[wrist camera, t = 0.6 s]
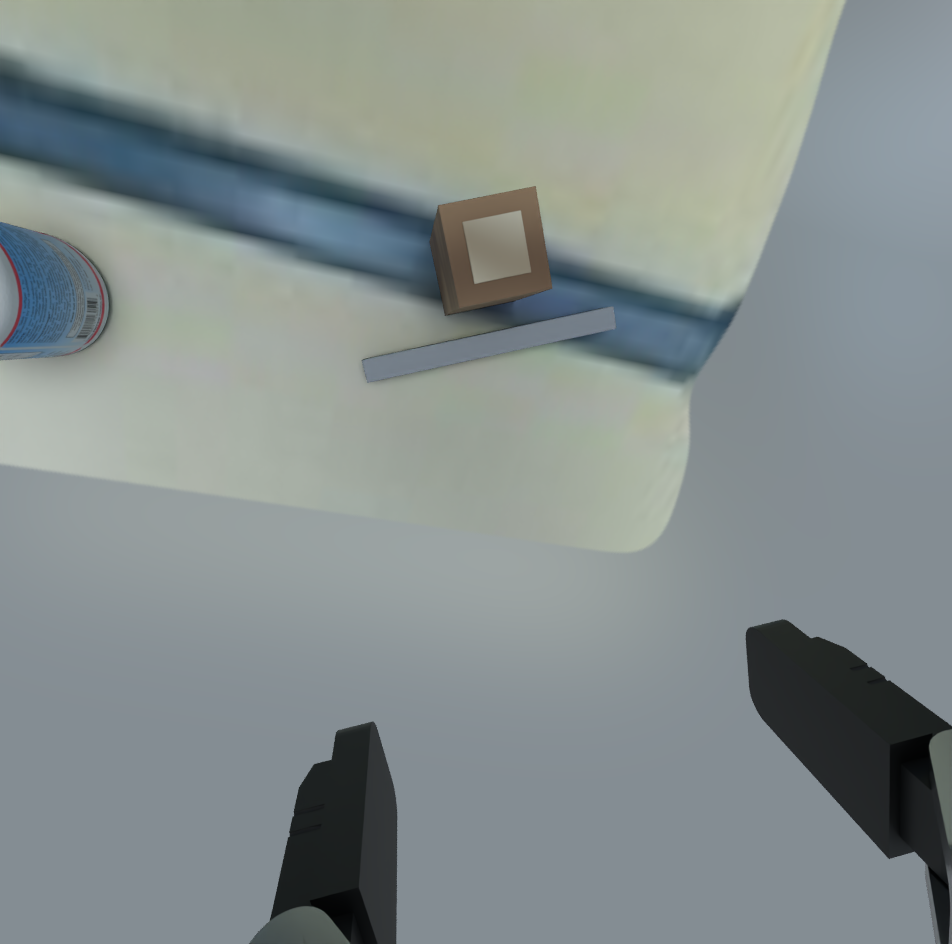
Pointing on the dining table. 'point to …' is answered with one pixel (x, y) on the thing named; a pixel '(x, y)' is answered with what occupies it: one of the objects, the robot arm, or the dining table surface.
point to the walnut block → (489, 250)
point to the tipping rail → (489, 344)
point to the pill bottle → (47, 296)
